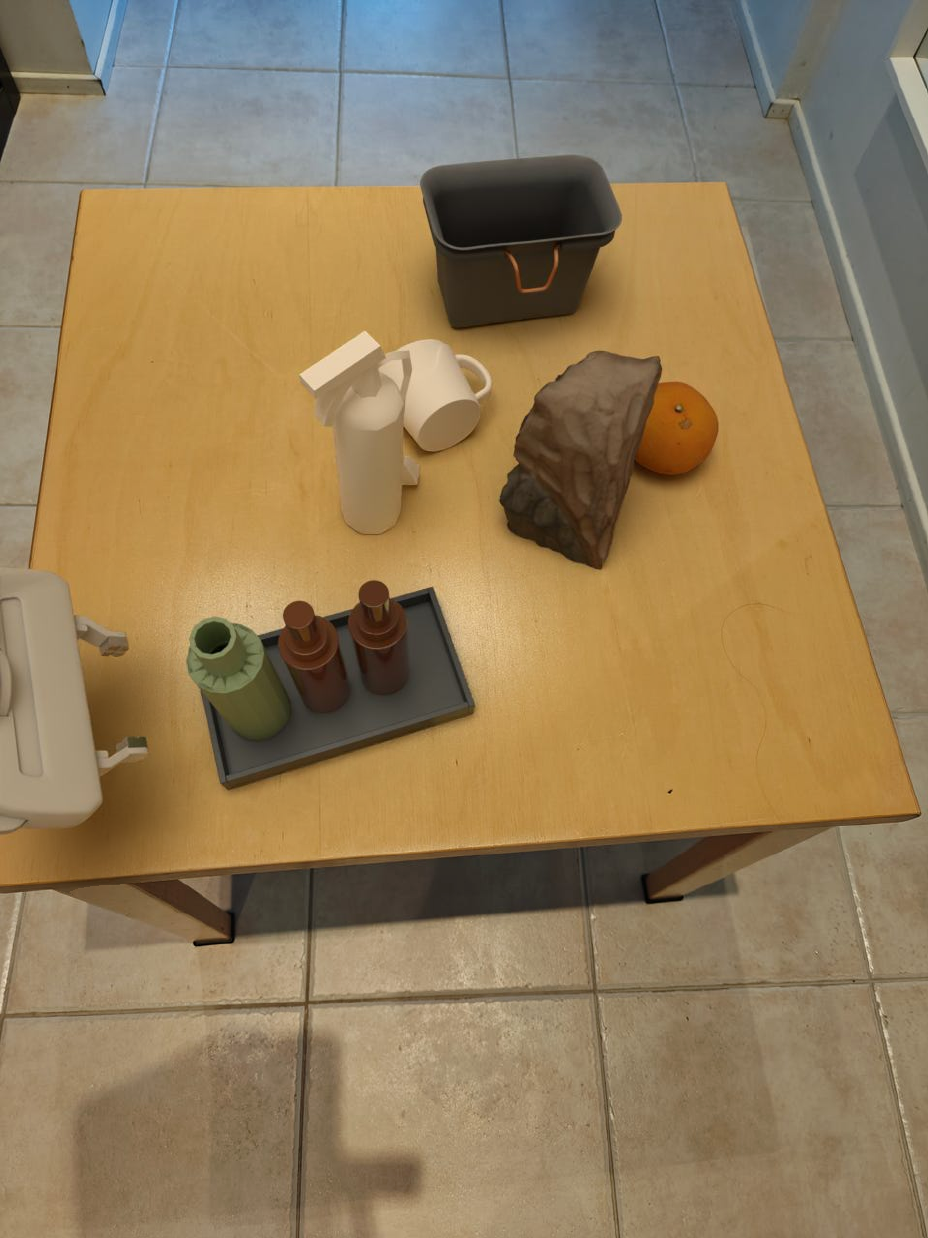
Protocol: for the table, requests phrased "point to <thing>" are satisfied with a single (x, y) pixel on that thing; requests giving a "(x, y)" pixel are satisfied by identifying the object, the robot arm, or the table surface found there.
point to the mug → (439, 393)
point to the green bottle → (238, 678)
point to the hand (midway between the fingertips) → (134, 695)
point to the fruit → (677, 430)
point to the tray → (352, 702)
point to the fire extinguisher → (365, 430)
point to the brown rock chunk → (580, 454)
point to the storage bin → (517, 235)
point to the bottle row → (319, 654)
